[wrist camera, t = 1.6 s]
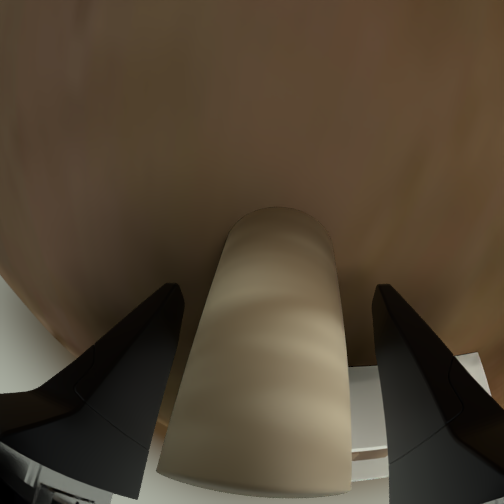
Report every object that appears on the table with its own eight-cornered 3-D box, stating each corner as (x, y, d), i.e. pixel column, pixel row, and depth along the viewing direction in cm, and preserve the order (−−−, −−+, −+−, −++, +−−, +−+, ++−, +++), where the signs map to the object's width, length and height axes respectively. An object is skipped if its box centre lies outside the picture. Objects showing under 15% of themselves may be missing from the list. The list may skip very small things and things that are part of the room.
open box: (477, 352, 13) (496, 417, 9) (403, 432, 23) (406, 473, 19) (198, 362, 16) (178, 437, 12) (236, 437, 26) (229, 478, 22)
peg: (336, 206, 9) (375, 480, 3) (329, 293, 12) (334, 497, 5) (217, 208, 10) (120, 453, 3) (233, 292, 12) (188, 486, 6)
